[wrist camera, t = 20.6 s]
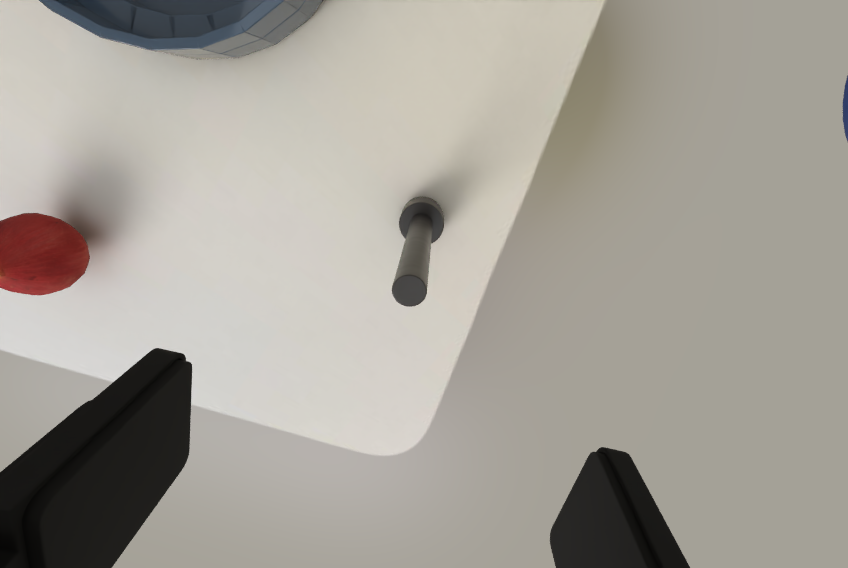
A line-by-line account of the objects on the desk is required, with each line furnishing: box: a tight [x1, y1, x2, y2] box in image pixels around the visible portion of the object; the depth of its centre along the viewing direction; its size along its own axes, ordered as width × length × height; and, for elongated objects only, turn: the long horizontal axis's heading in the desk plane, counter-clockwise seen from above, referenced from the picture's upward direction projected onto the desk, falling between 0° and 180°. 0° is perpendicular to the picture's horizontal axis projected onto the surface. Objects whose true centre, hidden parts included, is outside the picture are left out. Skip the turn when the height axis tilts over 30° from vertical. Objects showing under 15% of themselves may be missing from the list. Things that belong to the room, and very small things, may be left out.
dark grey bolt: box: [392, 197, 444, 306], centre depth 26 cm, size 3×3×14 cm
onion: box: [0, 213, 90, 295], centre depth 31 cm, size 6×6×8 cm
